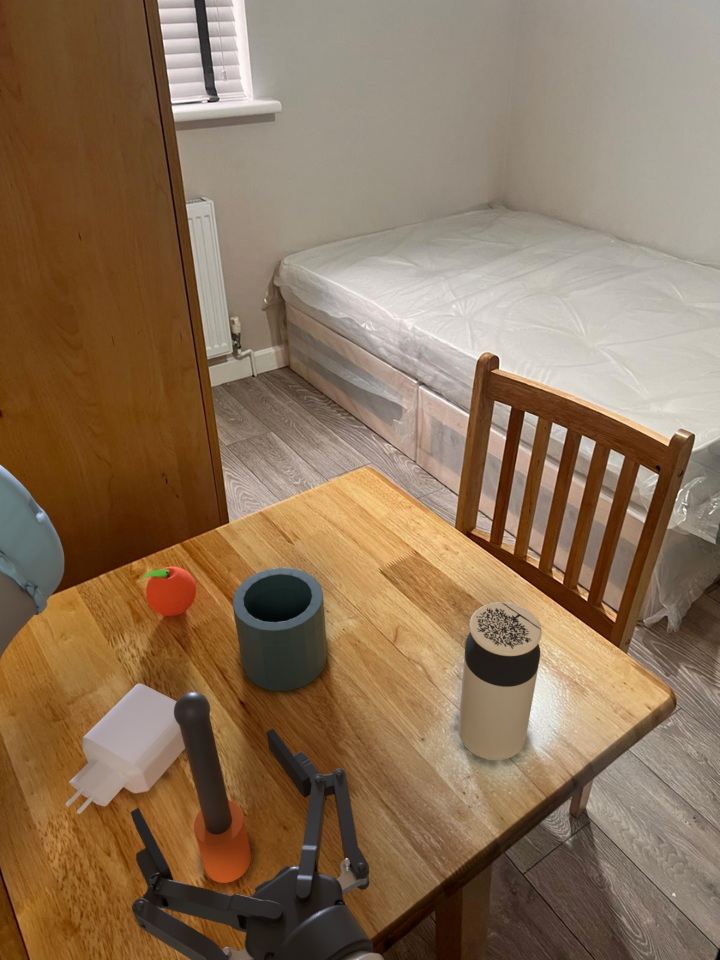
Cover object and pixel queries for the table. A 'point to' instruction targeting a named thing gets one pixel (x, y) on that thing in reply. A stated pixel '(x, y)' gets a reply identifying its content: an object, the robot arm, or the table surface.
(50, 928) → the table surface
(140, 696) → the charger
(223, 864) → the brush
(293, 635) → the dark grey pipe sleeve
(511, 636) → the travel mug
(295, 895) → the robot arm
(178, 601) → the clementine
